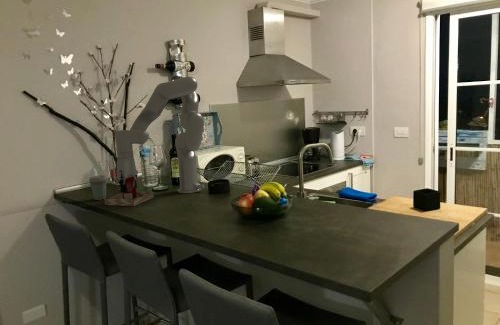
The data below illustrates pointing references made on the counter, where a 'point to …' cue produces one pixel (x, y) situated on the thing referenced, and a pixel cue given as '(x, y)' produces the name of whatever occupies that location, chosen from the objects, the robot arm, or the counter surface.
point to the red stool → (130, 189)
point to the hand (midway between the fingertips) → (129, 190)
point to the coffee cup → (98, 187)
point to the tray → (123, 202)
